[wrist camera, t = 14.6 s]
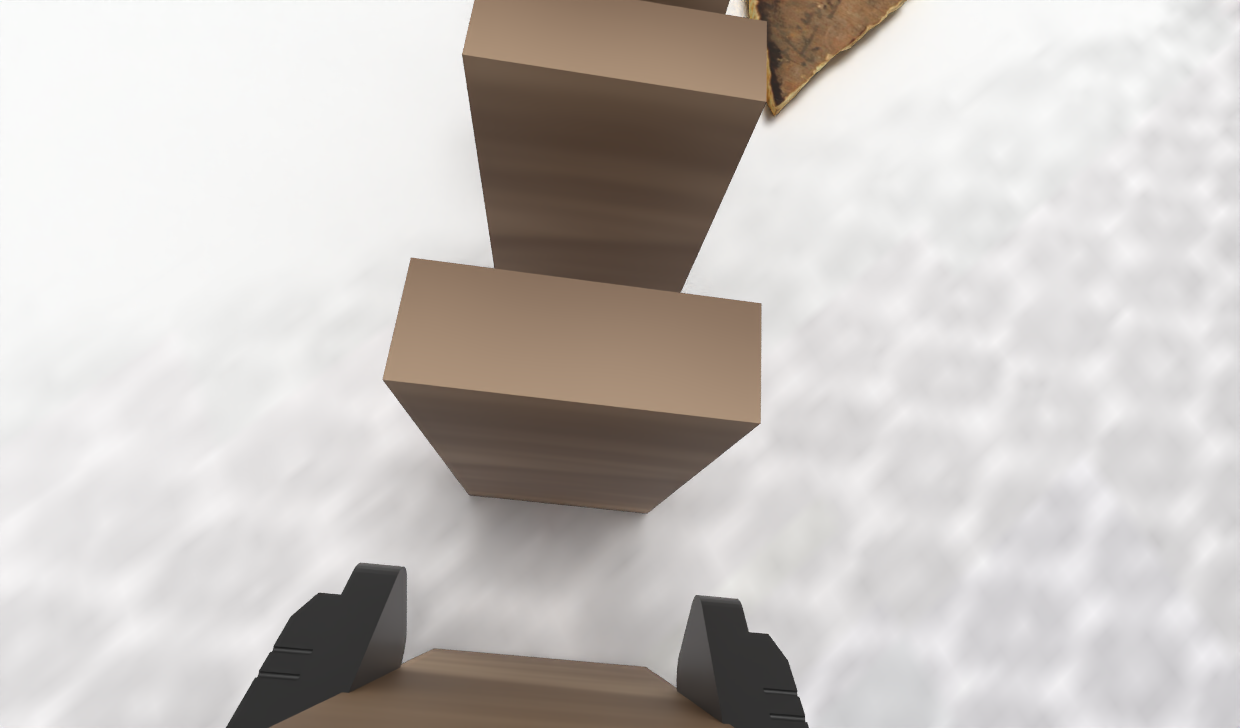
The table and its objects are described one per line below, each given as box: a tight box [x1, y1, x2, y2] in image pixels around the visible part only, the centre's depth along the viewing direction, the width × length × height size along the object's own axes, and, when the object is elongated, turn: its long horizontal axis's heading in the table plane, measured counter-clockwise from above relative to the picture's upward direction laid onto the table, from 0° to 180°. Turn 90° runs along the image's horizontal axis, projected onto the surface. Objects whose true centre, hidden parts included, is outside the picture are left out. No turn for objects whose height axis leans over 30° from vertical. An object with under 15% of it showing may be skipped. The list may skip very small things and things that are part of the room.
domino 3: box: [462, 0, 767, 293], centre depth 15 cm, size 2×5×10 cm, turn 85°
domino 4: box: [383, 258, 761, 513], centre depth 13 cm, size 2×5×10 cm, turn 85°
